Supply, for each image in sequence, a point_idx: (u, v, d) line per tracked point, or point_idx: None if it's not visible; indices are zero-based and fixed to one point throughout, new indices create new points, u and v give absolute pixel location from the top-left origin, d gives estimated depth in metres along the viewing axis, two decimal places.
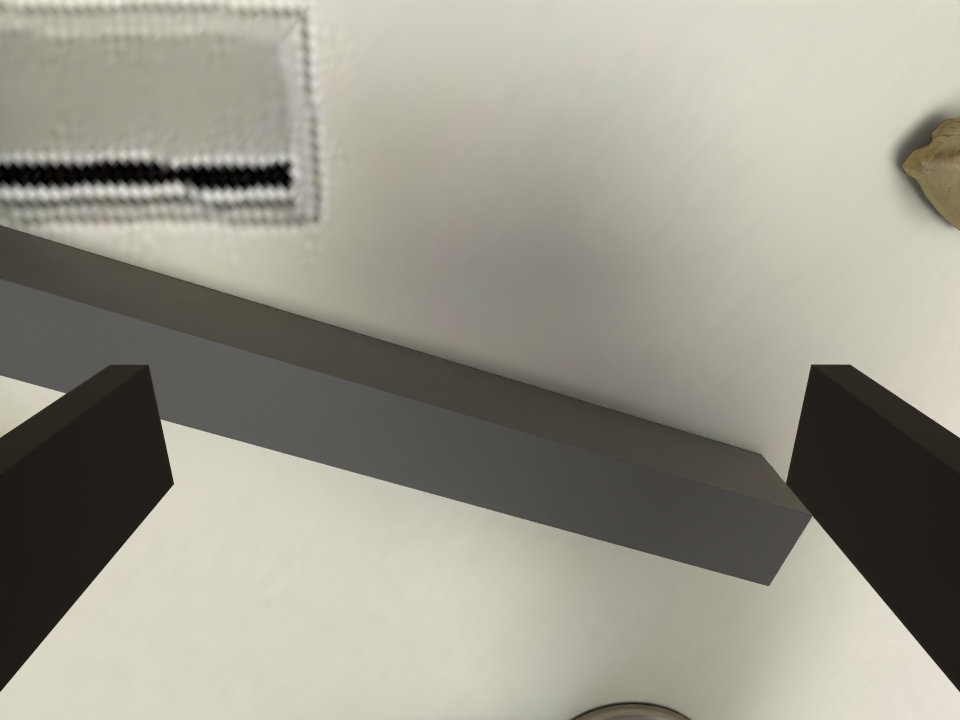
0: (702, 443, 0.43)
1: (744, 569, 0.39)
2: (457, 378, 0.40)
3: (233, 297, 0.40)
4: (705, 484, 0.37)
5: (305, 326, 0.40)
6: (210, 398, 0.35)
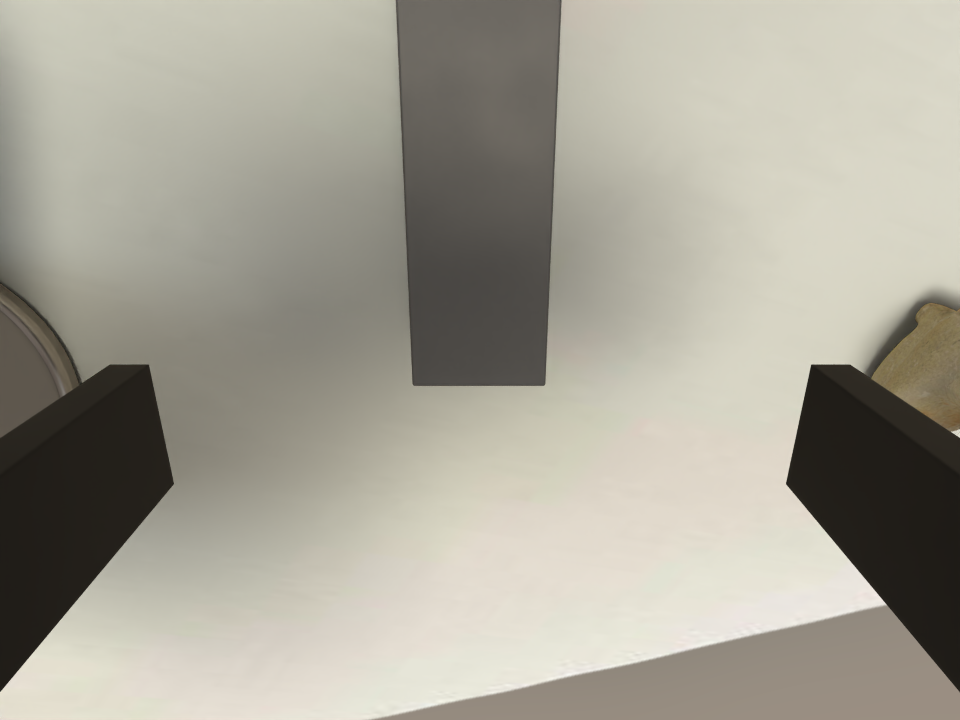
0: None
1: (427, 340, 0.26)
2: None
3: None
4: None
5: None
6: None
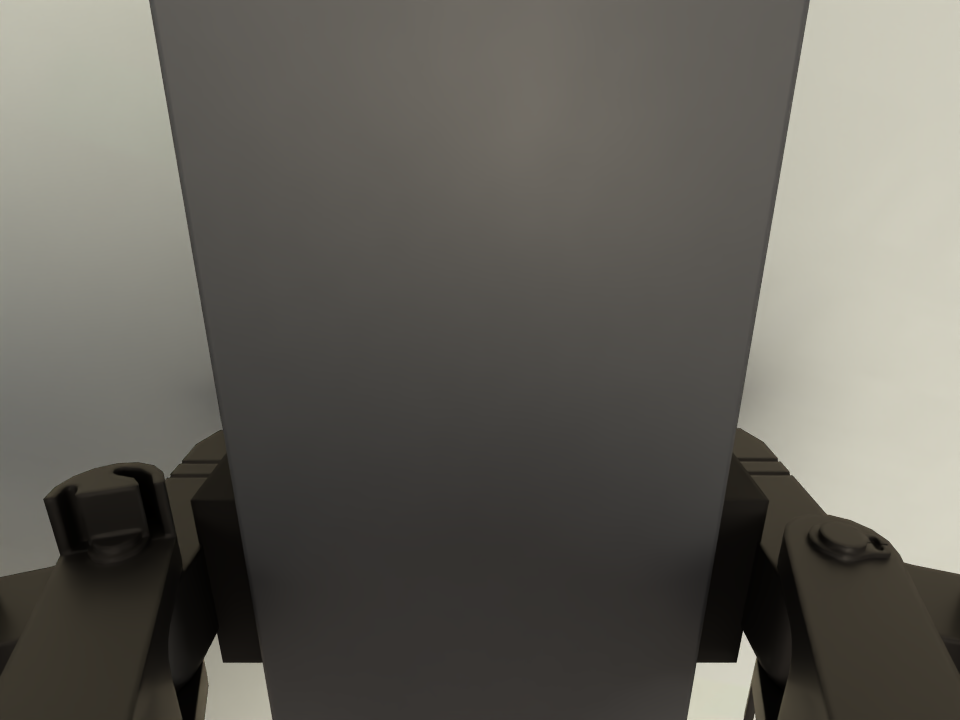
0: None
1: None
2: None
3: None
4: (731, 457, 0.07)
5: None
6: None
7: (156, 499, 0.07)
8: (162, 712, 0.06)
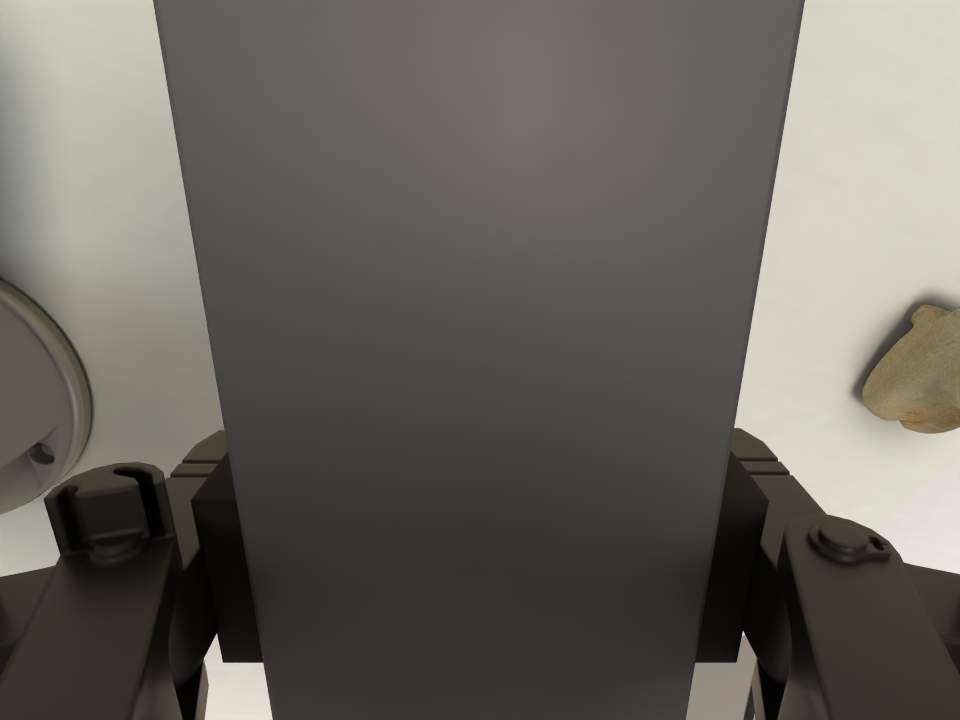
0: None
1: None
2: None
3: None
4: (729, 450, 0.07)
5: None
6: None
7: (156, 499, 0.07)
8: (162, 712, 0.06)
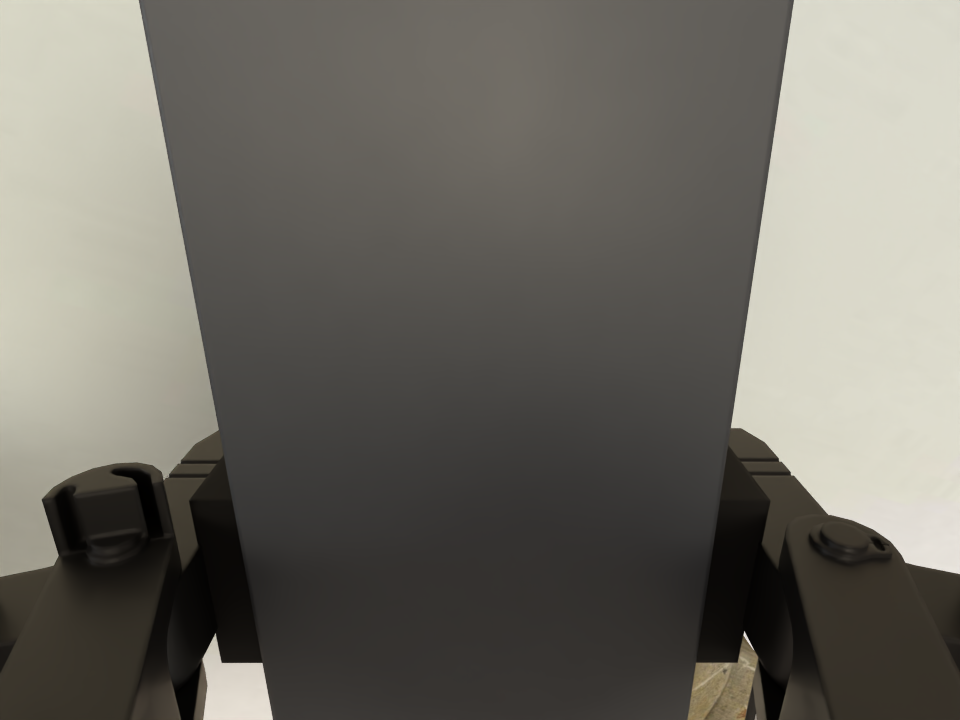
0: None
1: None
2: None
3: None
4: (727, 448, 0.07)
5: None
6: None
7: (155, 499, 0.07)
8: (161, 712, 0.06)
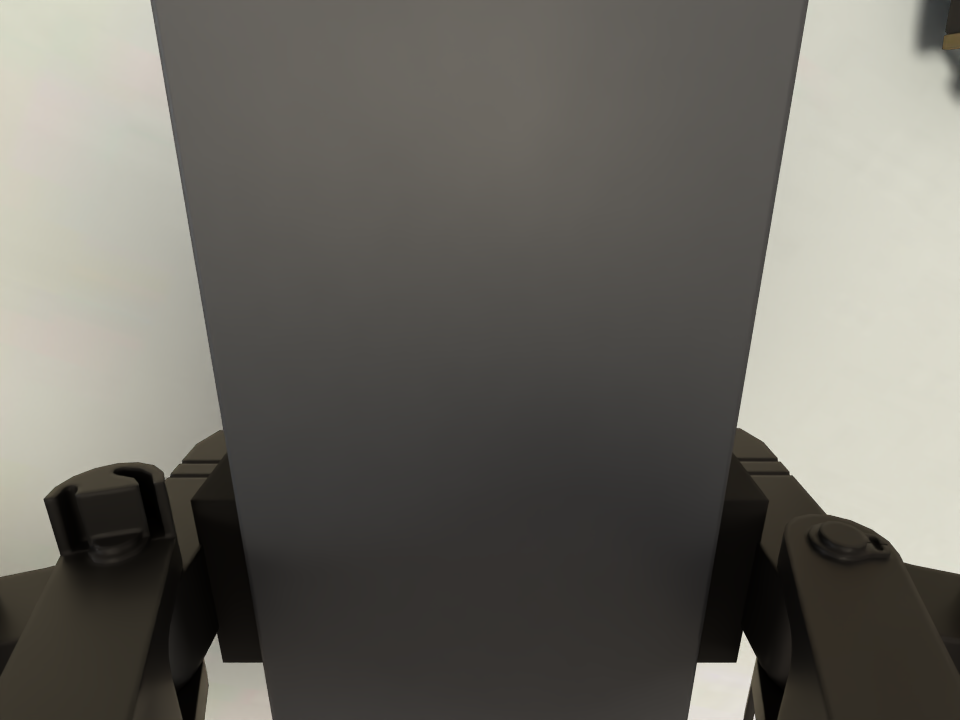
0: None
1: None
2: None
3: None
4: None
5: None
6: None
7: (156, 499, 0.07)
8: (162, 712, 0.06)
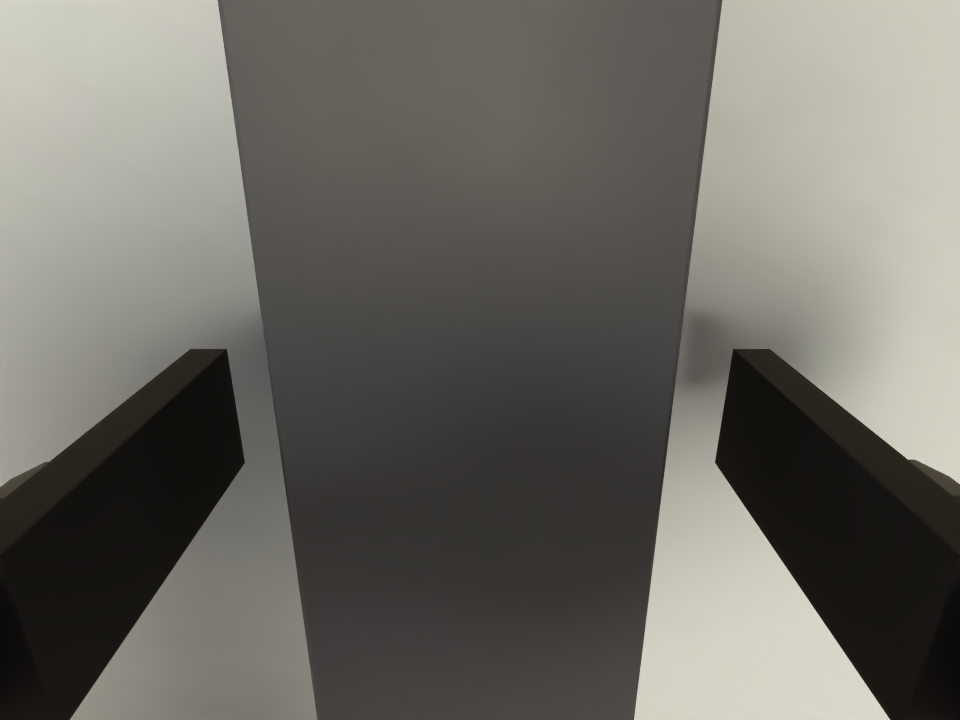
0: None
1: (351, 664, 0.11)
2: None
3: None
4: None
5: None
6: None
7: None
8: None
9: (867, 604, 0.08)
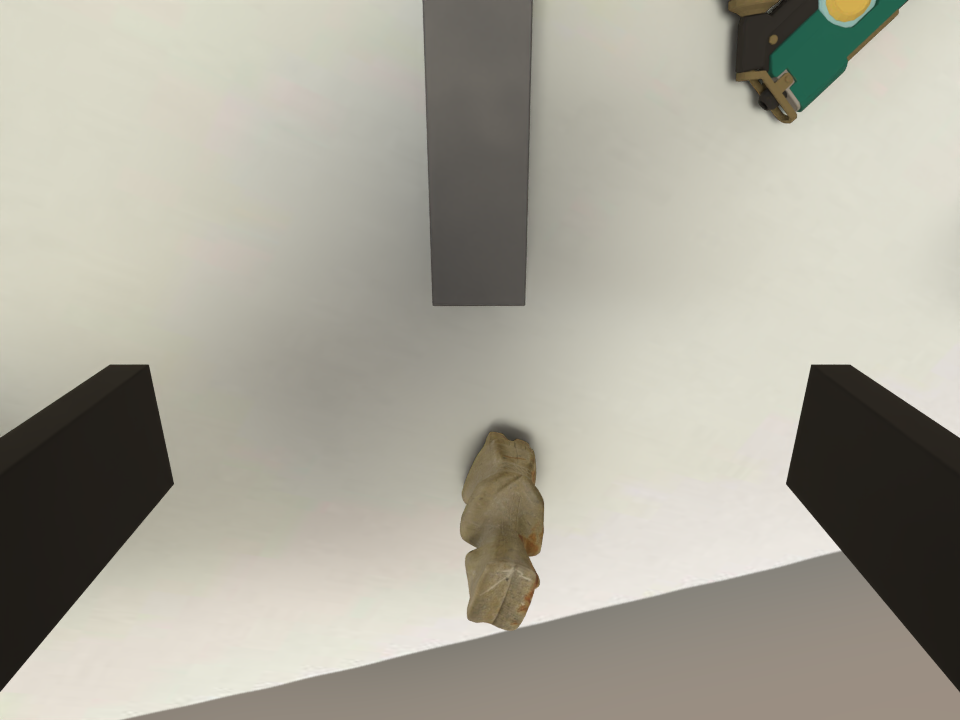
0: None
1: (443, 272, 0.38)
2: None
3: None
4: (527, 185, 0.36)
5: None
6: None
7: None
8: None
9: None
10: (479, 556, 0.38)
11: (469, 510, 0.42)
